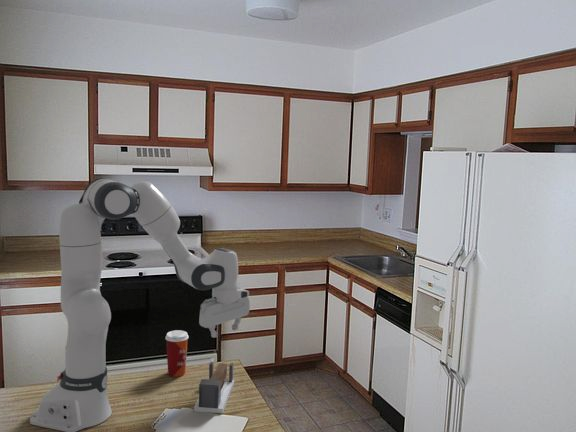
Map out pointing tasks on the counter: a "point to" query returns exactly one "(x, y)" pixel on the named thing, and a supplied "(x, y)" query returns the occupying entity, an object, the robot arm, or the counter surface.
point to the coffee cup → (176, 352)
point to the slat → (220, 373)
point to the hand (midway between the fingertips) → (224, 333)
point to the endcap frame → (214, 393)
